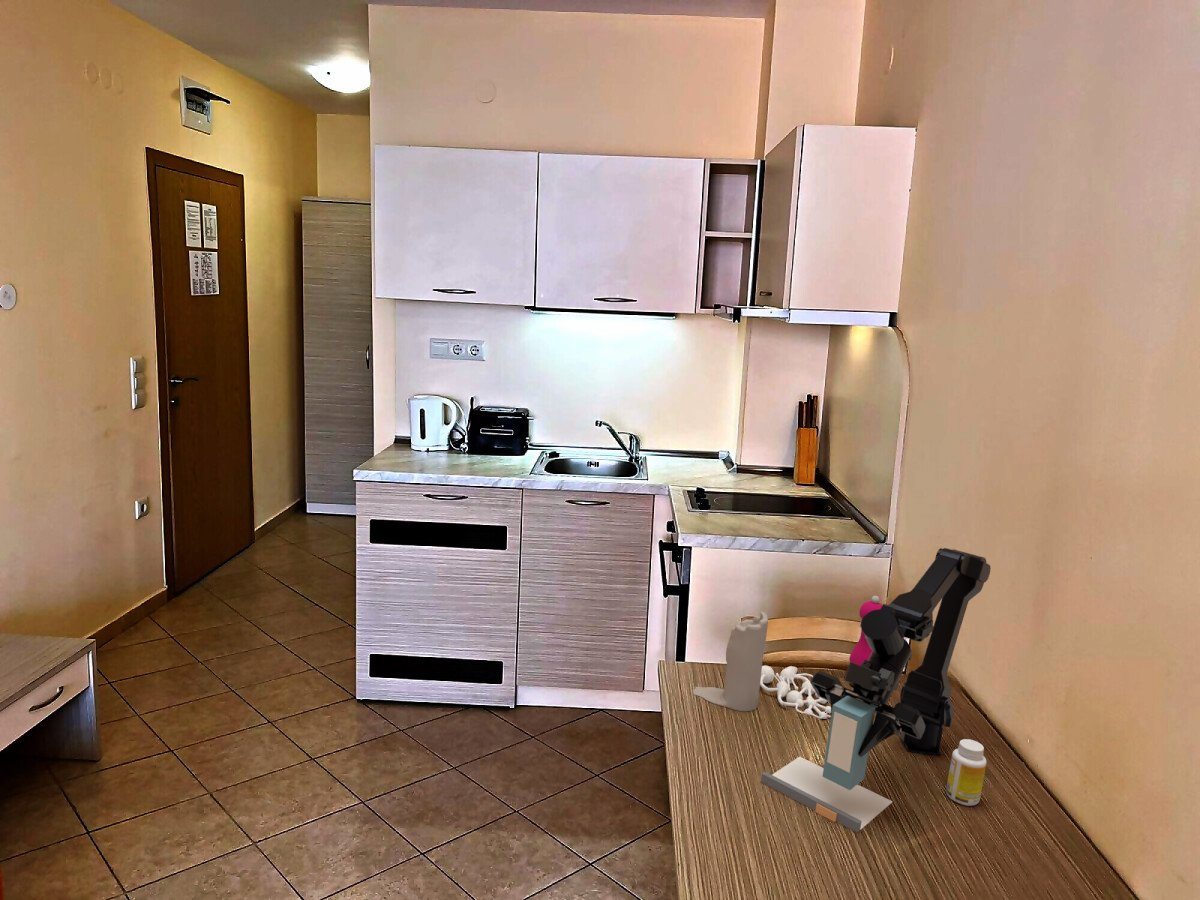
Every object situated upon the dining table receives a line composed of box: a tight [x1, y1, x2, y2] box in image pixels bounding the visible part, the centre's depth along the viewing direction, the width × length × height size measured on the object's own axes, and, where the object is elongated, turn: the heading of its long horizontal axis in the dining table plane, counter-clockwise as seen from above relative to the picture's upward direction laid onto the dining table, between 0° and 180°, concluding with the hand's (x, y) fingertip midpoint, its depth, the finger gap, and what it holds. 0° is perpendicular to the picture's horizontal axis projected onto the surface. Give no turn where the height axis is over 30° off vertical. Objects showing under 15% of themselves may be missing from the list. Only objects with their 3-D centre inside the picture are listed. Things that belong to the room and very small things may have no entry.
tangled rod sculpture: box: [760, 665, 831, 720], centre depth 185 cm, size 19×14×4 cm
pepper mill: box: [849, 595, 883, 666], centre depth 195 cm, size 7×7×20 cm
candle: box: [692, 611, 769, 712], centre depth 180 cm, size 7×14×20 cm, turn 65°
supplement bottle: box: [945, 738, 988, 807], centre depth 152 cm, size 6×6×10 cm
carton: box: [822, 696, 876, 790], centre depth 142 cm, size 5×5×13 cm
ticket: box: [814, 803, 837, 823], centre depth 141 cm, size 1×4×2 cm, turn 46°
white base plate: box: [760, 756, 893, 833], centre depth 148 cm, size 13×18×3 cm
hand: (844, 748), depth 142 cm, fingers closed on carton, 5 cm apart
